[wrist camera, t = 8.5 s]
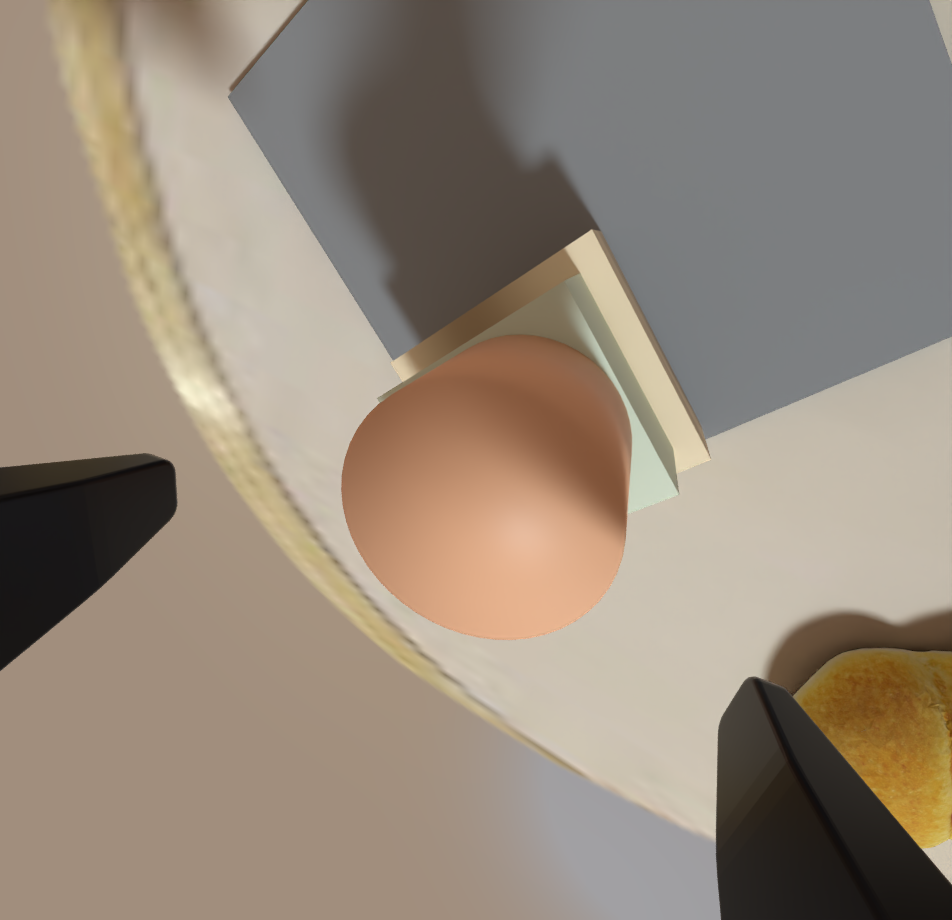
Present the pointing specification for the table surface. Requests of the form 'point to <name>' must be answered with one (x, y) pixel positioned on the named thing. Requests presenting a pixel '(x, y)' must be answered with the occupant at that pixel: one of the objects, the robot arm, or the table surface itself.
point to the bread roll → (892, 730)
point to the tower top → (584, 328)
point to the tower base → (618, 312)
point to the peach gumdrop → (495, 488)
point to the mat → (632, 170)
